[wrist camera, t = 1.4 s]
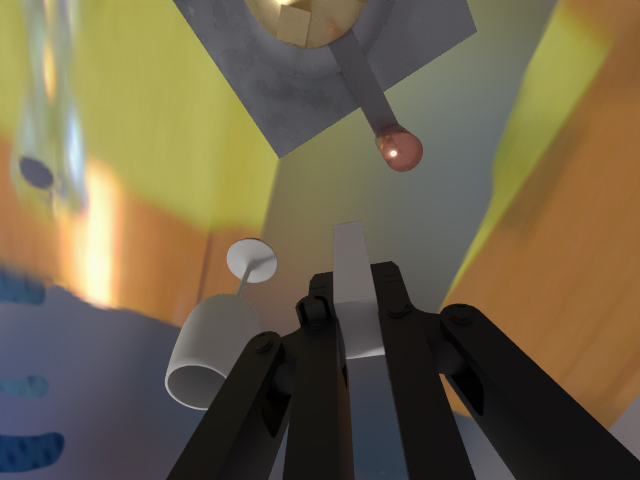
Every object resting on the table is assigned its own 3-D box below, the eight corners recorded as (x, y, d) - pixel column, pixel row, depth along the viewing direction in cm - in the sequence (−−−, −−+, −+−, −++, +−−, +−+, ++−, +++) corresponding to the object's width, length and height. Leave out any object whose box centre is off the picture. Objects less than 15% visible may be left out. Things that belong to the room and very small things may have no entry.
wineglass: (284, 245, 45) (251, 368, 26) (272, 288, 48) (235, 423, 30) (230, 230, 44) (157, 346, 26) (222, 275, 48) (152, 405, 29)
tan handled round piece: (218, -49, 28) (184, -87, 21) (329, -149, 25) (328, -229, 18) (351, 176, 36) (356, 199, 30) (445, 122, 33) (472, 134, 27)
